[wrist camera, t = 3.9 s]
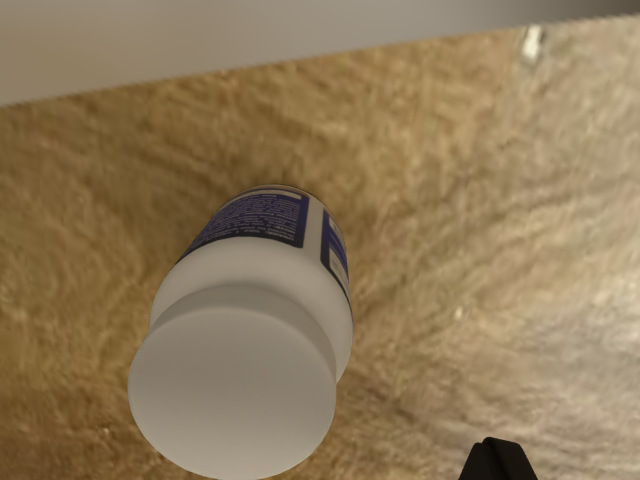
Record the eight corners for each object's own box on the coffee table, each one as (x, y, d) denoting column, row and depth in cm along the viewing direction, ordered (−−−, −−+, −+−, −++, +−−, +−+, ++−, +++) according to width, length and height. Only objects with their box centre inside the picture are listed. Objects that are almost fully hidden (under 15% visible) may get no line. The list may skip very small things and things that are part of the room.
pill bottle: (184, 268, 20) (58, 432, 11) (251, 154, 19) (172, 230, 9) (299, 334, 21) (276, 537, 12) (373, 229, 20) (412, 369, 10)
